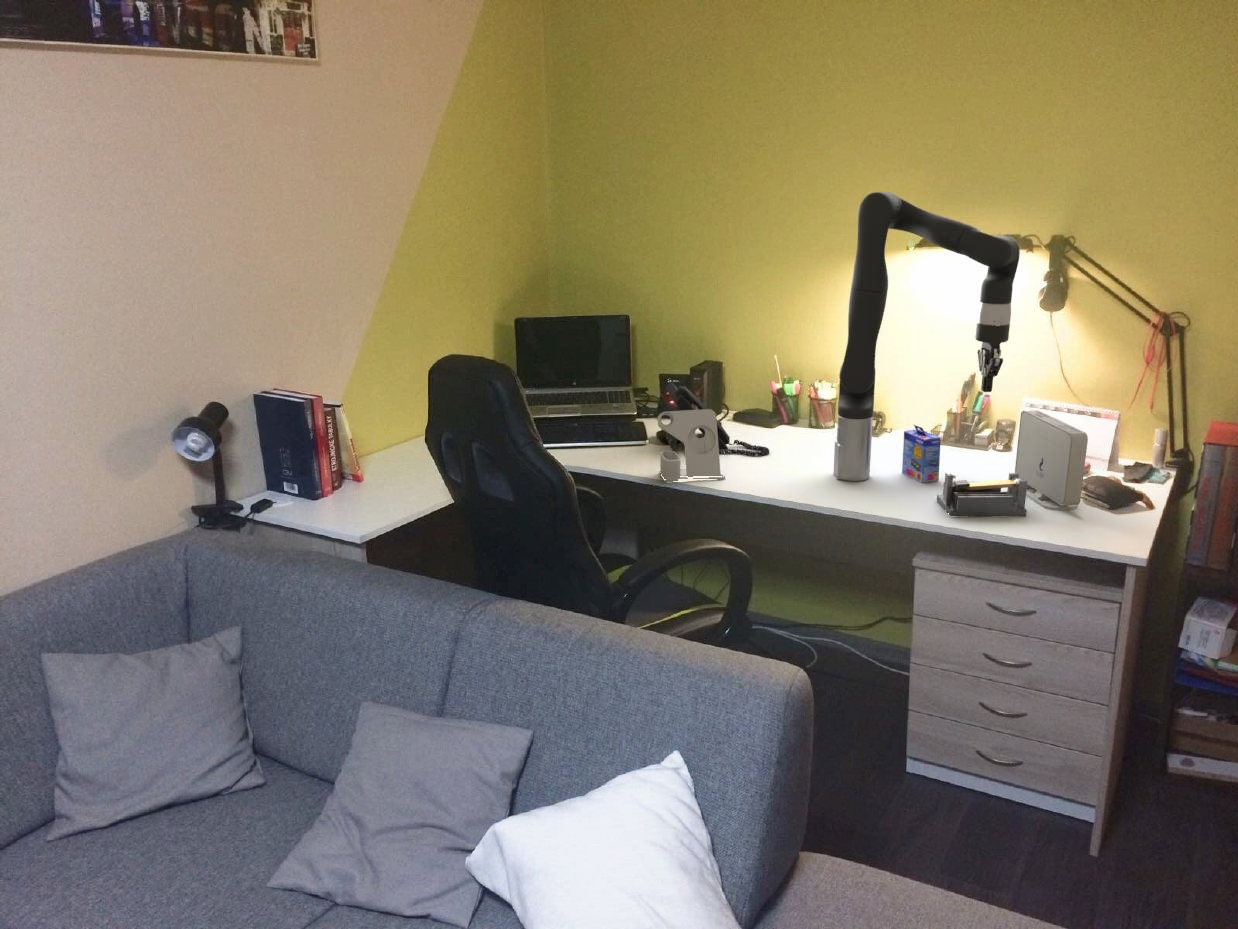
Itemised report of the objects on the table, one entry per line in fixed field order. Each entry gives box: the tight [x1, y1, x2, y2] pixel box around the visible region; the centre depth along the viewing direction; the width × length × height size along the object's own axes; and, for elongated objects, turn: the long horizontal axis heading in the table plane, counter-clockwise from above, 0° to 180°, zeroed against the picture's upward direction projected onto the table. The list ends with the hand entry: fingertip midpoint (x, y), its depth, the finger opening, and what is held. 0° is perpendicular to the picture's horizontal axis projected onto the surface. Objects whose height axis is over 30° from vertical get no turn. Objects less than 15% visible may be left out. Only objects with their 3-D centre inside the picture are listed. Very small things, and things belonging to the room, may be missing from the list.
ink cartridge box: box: [901, 424, 942, 483], centre depth 263 cm, size 10×6×14 cm, turn 19°
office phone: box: [665, 381, 770, 457], centre depth 297 cm, size 29×28×20 cm
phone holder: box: [657, 408, 727, 484], centre depth 267 cm, size 17×10×18 cm, turn 98°
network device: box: [1014, 409, 1089, 511], centre depth 244 cm, size 26×9×20 cm, turn 5°
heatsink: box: [936, 471, 1028, 518], centre depth 238 cm, size 18×12×9 cm, turn 88°
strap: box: [953, 477, 1020, 491], centre depth 238 cm, size 16×4×2 cm, turn 88°
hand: (986, 391), depth 240 cm, fingers closed
